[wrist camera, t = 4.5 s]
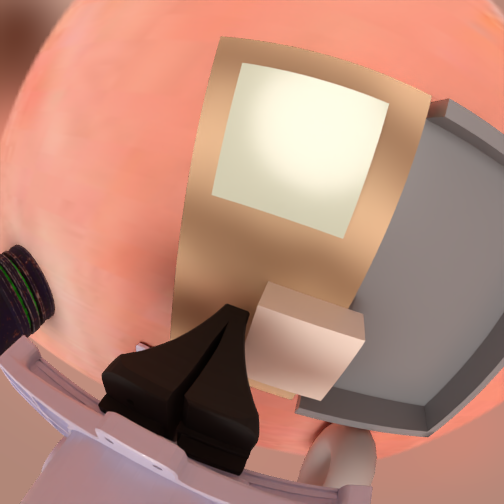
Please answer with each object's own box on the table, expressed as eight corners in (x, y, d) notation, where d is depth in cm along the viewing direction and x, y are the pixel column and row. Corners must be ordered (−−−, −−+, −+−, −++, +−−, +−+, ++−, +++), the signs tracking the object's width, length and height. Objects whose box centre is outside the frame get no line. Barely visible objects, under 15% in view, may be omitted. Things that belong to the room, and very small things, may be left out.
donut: (331, 448, 22) (315, 532, 14) (300, 442, 23) (278, 527, 14) (385, 401, 18) (382, 516, 9) (348, 393, 18) (333, 515, 9)
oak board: (296, 378, 19) (291, 400, 17) (181, 335, 20) (169, 353, 18) (417, 100, 10) (432, 96, 8) (235, 47, 11) (220, 36, 9)
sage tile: (341, 220, 11) (342, 238, 10) (229, 184, 12) (211, 194, 10) (379, 108, 9) (389, 103, 7) (256, 73, 10) (242, 62, 8)
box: (424, 408, 17) (428, 437, 14) (301, 380, 19) (294, 413, 16) (559, 202, 8) (586, 218, 6) (425, 103, 10) (449, 98, 7)
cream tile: (324, 374, 15) (320, 400, 13) (245, 348, 16) (234, 372, 14) (363, 313, 13) (365, 340, 11) (268, 281, 13) (257, 305, 12)
